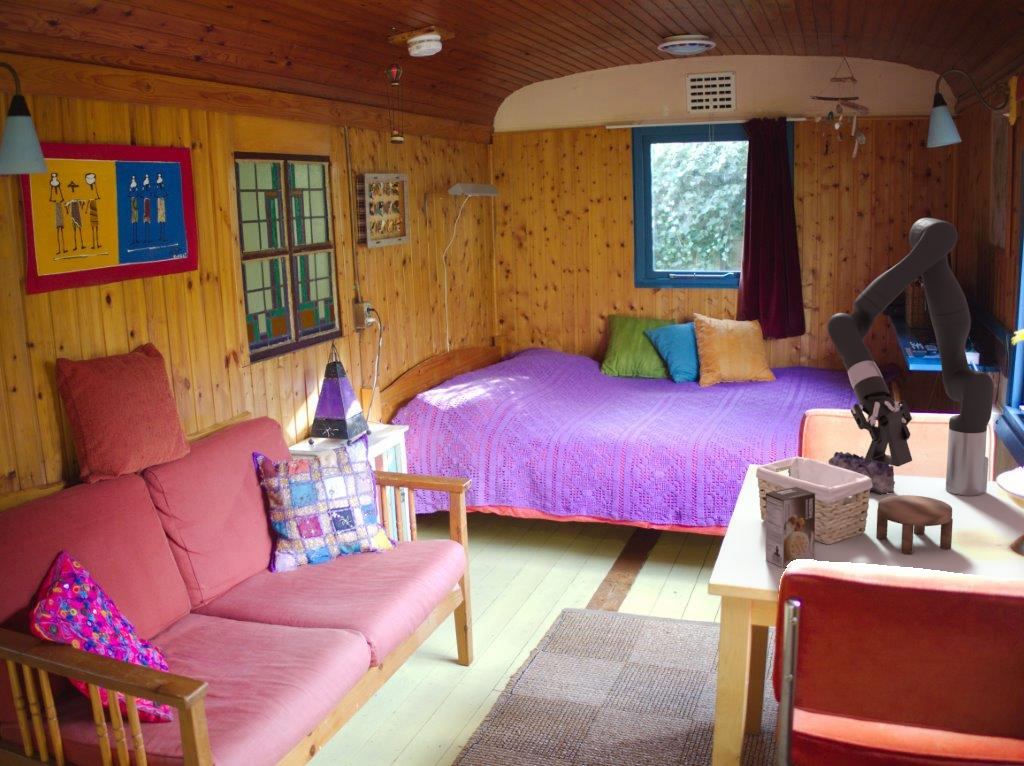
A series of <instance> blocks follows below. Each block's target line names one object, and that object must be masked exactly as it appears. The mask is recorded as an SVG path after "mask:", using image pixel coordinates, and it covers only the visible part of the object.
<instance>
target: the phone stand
mask: <svg viewBox="0 0 1024 766" xmlns="http://www.w3.org/2000/svg"><path fill="white" fill-rule="evenodd" d="M894 411H895V410H894ZM894 411H891V412H888V413H885V414H882V415H880V416H879V417H878V420H877V428H878V430H879V433H880V435H881V437H882V441H881V442H880V443H878V444H876V443H875V442H874V441H873V440H872V439H871V442H870V445H869V447H868V450H867V452H866V454H865V457H864V458H865V459H866V460H869V461H874V462H879V463H883V464H888V465H889V466H893V467H901V466H903V465H905V464H906V465H907V464H909V463H911V462H912V461H913V458H912V455H911V450H910V448H909V444H908V440H907V441H906V440H905V438H904V433H903V427H902V414H901V412H900V411H896V412H894ZM887 448H888V449H889V454H886V451H887Z"/></svg>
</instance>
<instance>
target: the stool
mask: <svg viewBox="0 0 1024 766" xmlns="http://www.w3.org/2000/svg"><path fill="white" fill-rule="evenodd" d="M888 522H892V523H896V524H900V525H901V544H900V547H901V548H900V553H901V554H903V555H908V556H909V555H913V548H914V545H913V544H914V535H917V536H918V535H919V536H922V535H925V533H926V532H925V531H926V529H925V528H926V527H934V526H935V527H936V526H940V537H939V542H940V543H939V548H940V549H942V550H946V551H947V550H952V541H953V540H952V538H953V523H954V519H953V507H952V506H951V505H950V504H949V503H947V502H945V501H942V500H939V499H937V498H933V497H928V496H923V495H913V494H912V495H911V494H910V495H909V494H908V495H907V494H906V495H905V494H902V495H891V496H887V497H886V496H885V497H884V498H881V499H880V500H878V502H877V510H876V532H875V533H876V535H875V537H876V539H877V540H881V541H883V540H887V539H888V524H889V523H888Z"/></svg>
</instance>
